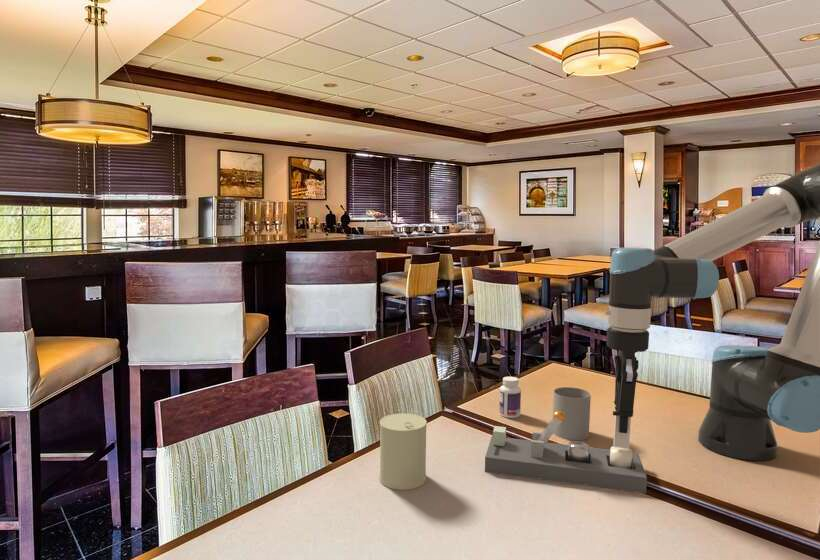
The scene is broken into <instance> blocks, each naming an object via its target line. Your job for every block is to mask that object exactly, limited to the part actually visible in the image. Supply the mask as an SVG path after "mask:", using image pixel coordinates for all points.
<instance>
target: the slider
mask: <svg viewBox="0 0 820 560" xmlns="http://www.w3.org/2000/svg"><path fill="white" fill-rule="evenodd" d="M492 436H493V445H498V446H504V445H505V441H506V438H507V427H506V426H499V425H498V426H497V425H494V427H493V431H492Z"/></svg>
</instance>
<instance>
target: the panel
mask: <svg viewBox="0 0 820 560" xmlns="http://www.w3.org/2000/svg"><path fill="white" fill-rule="evenodd" d="M542 433H543V431H542V432H540V431H532V433H531V434H532V435H531V436H532V437H531V440H530V439H529V440H528V439H520V438H511V437H506V441H505V445H504V446H498V445H493V435H492V436H491V438H490V440H489V442H488V443H489V444H488V448H487V450H486V454H485V455H484V456H485V457H484V472H486V473H492V474H495V473H496V474H501V475H509V476H510V475H511V476H517V477H523V478H524V477H525V478H532V479H538V480H539V479H540V480H546V481H551V482H553V481H554V482H560V483H568V484H574V485H575V484H576V485H584V486H591V487H598V488H605V489H613V490H621V491H627V492H633V493H634V492H635V493H641V494H642V493H643V494H646V493H647V486H648V485H647V482H648V481H647V480H648V477H647V473H646V471H645V468H644V465H643V462H642V459H641V457H640V454H639V452H633V451H632V465H631V469H628V468H620V467H612V466H610V449H607V448H598V447H590V446H589V461H588V463H580V462H572V461H568V444H564V443H556V442H547V443H546V444H545V446H544V441H537V440H538V438H539V437H540V435H541V434H542Z"/></svg>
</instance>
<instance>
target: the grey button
mask: <svg viewBox="0 0 820 560" xmlns="http://www.w3.org/2000/svg"><path fill="white" fill-rule="evenodd" d="M567 445H568V461H572V462H580V463H588V461H589V447H590V445H589V444H588V443H586V442H583V441H581V440H570V441H569V442H568V444H567Z"/></svg>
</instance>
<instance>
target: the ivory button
mask: <svg viewBox="0 0 820 560" xmlns="http://www.w3.org/2000/svg"><path fill="white" fill-rule="evenodd" d="M609 450H610V466H612V467H620V468H628V469H631V465H632V452H633V450H632V449H630V448H629V449H628V448H620V447H614V445H612V446H610V449H609Z"/></svg>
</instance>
